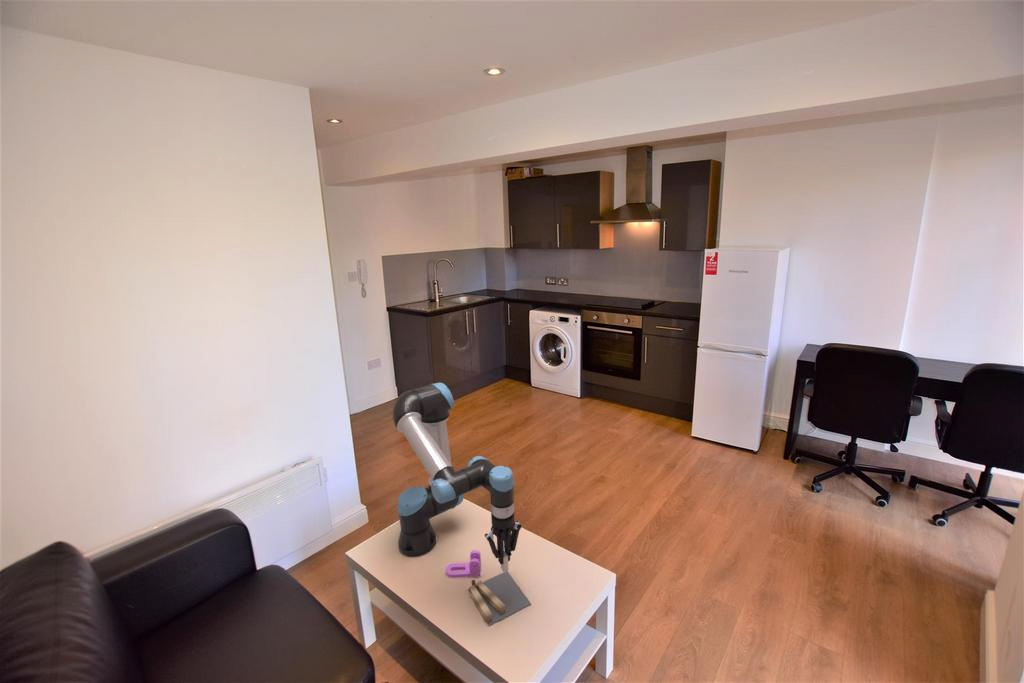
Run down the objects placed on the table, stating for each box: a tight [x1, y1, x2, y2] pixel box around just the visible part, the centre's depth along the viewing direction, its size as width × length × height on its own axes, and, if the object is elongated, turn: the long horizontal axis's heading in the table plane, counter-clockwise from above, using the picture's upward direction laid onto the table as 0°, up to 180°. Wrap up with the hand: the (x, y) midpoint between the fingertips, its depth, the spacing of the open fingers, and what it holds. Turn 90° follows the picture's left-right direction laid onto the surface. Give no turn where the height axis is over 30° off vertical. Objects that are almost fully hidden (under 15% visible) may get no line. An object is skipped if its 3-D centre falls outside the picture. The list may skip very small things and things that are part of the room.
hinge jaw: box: [476, 580, 506, 614], centre depth 157 cm, size 14×2×2 cm, turn 40°
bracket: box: [445, 549, 482, 579], centre depth 170 cm, size 13×6×7 cm, turn 91°
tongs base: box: [468, 579, 492, 623], centre depth 155 cm, size 16×3×3 cm, turn 29°
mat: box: [467, 570, 532, 627], centre depth 159 cm, size 17×16×1 cm
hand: (504, 569), depth 156 cm, fingers closed
